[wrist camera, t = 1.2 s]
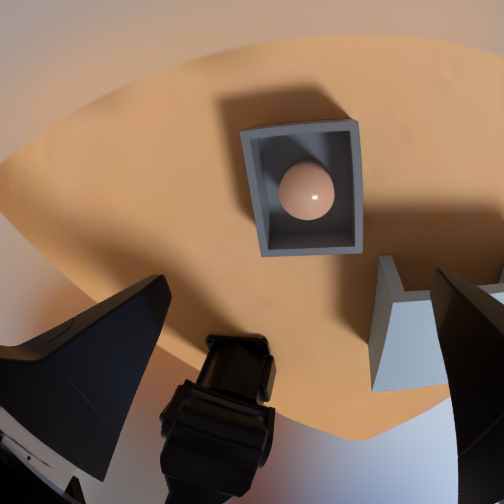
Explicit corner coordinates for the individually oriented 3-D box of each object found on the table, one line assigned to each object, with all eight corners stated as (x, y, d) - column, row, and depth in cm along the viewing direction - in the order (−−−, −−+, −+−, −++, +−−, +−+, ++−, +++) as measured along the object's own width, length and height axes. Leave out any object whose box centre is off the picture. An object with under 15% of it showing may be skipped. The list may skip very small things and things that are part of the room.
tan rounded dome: (286, 207, 19) (282, 221, 17) (280, 160, 17) (275, 169, 15) (333, 204, 18) (335, 218, 16) (330, 157, 16) (332, 165, 14)
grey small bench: (367, 345, 24) (371, 392, 20) (378, 255, 20) (393, 302, 15) (485, 331, 21) (501, 370, 16) (515, 249, 16) (545, 285, 11)
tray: (268, 235, 21) (261, 256, 18) (251, 127, 17) (239, 132, 15) (357, 232, 19) (362, 253, 17) (351, 118, 15) (358, 121, 13)
